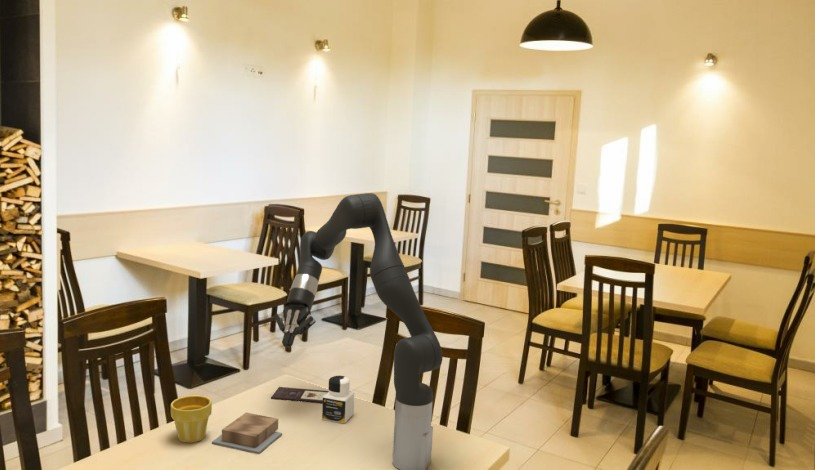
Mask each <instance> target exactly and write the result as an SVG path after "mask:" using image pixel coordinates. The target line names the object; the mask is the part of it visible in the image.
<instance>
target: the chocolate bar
mask: <svg viewBox="0 0 815 470" xmlns="http://www.w3.org/2000/svg"><path fill="white" fill-rule="evenodd" d="M328 392H329V391H328V390H322V389H321V390H319V389H309V388H308V389H307V388H297V387H284V386H278V388H277V389H276V390H275V392H273V394H272V395H271V396H270V400H276V401H278V400H279V401H287V400H291V402H298V401H300V403H301V401H302V403H312V404H322V405H323V396H324V395H325V394H327V393H328Z"/></svg>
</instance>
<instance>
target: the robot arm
mask: <svg viewBox="0 0 815 470" xmlns="http://www.w3.org/2000/svg"><path fill="white" fill-rule="evenodd" d="M364 228H370V231H371V233H372V236H373V239H374V240H373V241H374V249H373V253H372V258H371V261H370V267H369V274H370V276H369V277H370V278H371V282H372V285H373V286H374V289H375V291H376V294H377V297H378V298H379V299H380V300H381V302H382V303H383V304H384V305H385V306H386V307H387V308H388V309H390V311H392V312H393V313H394V315H396V316H397V317H398V318H399V319H400V321H402V323H403V325H404V326H405V327H406V329H407V331H408V334H409V335H410V336H409V337H404V338H401V339H400V340H398V341H397V342H396V345H395V347H394V352H393V384H394V389H395V406H394V407H395V408H394V426H393V427H394V428H393V441H392V442H393V443H392V444H393V446H392V465H393V466H394V467H395V468H396V469H397V470H428V469H427V468H428V467H429V466H430V464H431V462H432V453H433V452H432V451H433V449H432V448H433V438H434V437H433V435H434V426H432V415H433V414H432V412H433V399H434V398H433V397H434V392H433V391H434V390H433V388H432V387H431V386H430V385H428V384H427V383H424V382H420V381H421V380H420V374H425V373H428V372H431V371H435V370H437V369H439V368H440V367H441V365H442V363H443V350H442V346H441V344H440V342H439V339H438V337H437V335H436V333H435V331H434V329H433V328H432V326H431V324H430V323H429V320H428V318H427V316H426V314H425V313H424V310H423V308H422V306H421V303H420V301H419V299H418V297H417V295H416V292H415V290H414V288H413V285H412V281H411V279H410V277H409V274H408V272H407V270H406V267H405V265H404V262H403V261H402V258H401V255H400V253H399V251H398V248H397V246H396V244H395V241H394V240H395V239H394V238H393V235H392V232H391V228H390V225H389V223H388V219H387V215H386V212H385V209H384V207H383V203H382V202H381V198H379V196H378V195H377V194H375V193H372V192H369V193H366V192H365V193H357V194H350V195H347V196H344V197H343V198H342V199H341V200H340V202H339V203H338V204H337V205H336V208H335V209H334V211H333V213H332V214H331V216H330V217H329V219H328V221H326V222H325V223H324V224H323V225H322V226H320V228H318V230H317V231H316V232H315V231H313V230H307V231H306V232H305V233H303V235H302V237H301V238H300V244H299V265H298V267H297V271H296V273H295V277H294V279H293V281H292V284H291V287H290V290H289V293H288V297H287V300H286V304H285V307H284V308H283V310H282V312H281V313H279V314H278V313H275V314H274V316H273V317H274V319H275V321H276V324H277V326H278V329H279V330H280V331H281V332H282V334H283V337H282V341H281V344H282V346H283V347H284V348H287V349H290V348H291V347H293V345H294V341H295V339H296V337H297V336H298V335H300V336H301V335H303V334H304V333H305V332H307V331H308V330H309V329H310V328H311V327H312V326H313V325H315V324H316V322H317V321H316V320H315V318H314V317H313V316H312V313H311V310H312V309H313V305H314V302H315V298H316V296H317V291H318V286H319V282H320V278H321V275H322V271H323V266H322V264H321V262H319V261H318V260H316V259H315V258H317V259H320V260H322V261H324V260H329V259H330V258H331V257H332V256H333V253H334V251H335V248H336V246H337V245H339V244H341V242H342V241H344V239H345V238H346V235H347V231H348V230H358V229H364ZM314 257H315V258H314ZM284 320H285V323H284Z"/></svg>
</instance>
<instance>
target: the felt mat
mask: <svg viewBox="0 0 815 470" xmlns="http://www.w3.org/2000/svg"><path fill="white" fill-rule="evenodd" d="M281 436H283V432H278V431H275V432H274V433H273V434H271V435H270V436H269V437H268V438H267V439H265V440H264V441H263V442H262V443H261V444H259V445H258V446H257V447H256V448H255V447H250V446H245V445H241V444H236V443H231V442H227V441H222V434H220V435H219V436H218V437H216V438H215V439H214V440H212V441H211V444H212V445H214V446H215V445H216V446H221V447H225V448H229V449H234V450H239V451H243V452H248V453H252V454H257V455H260V454H261V453H262V452H264V451H265V450H267V448H269V447H270V446H271V445H272V444H273V443H275V442H276V441H277V440H278V439H279V438H280V437H281Z"/></svg>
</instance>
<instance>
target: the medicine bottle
mask: <svg viewBox="0 0 815 470" xmlns="http://www.w3.org/2000/svg"><path fill="white" fill-rule="evenodd" d="M350 383H351V380H350V379H349V377H346V376H344V375H334V376H331V377H330V378H329V379H328V390H327V391H329V392H328V393H327V394H325V395H324V396H323V404H322V405H321V406H322V412H321V419H322V420H324V421H327V422H335V423H338V424H339V423H340V424H346V422H347V421H348V420H349V419H351V418H352V417H353V416H354V412H355V410H354V409H355V392H354V391H350V388H351V385H350Z"/></svg>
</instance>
